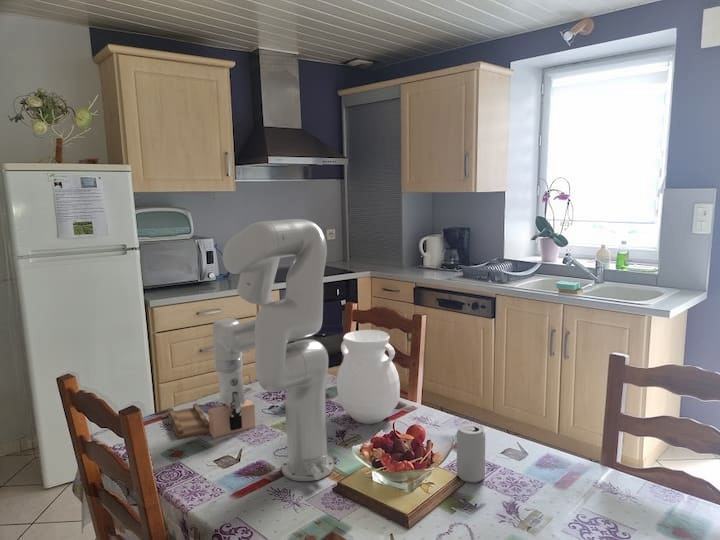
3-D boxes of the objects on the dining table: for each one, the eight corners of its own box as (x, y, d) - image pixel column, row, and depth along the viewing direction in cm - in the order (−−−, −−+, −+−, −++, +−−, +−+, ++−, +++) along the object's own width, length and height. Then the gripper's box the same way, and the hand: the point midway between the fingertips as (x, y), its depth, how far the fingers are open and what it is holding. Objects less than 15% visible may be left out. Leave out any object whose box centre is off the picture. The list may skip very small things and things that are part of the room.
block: (255, 427, 153) (254, 404, 152) (214, 438, 147) (212, 414, 146) (250, 422, 156) (249, 399, 155) (209, 433, 150) (208, 409, 149)
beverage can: (483, 486, 120) (483, 435, 118) (454, 481, 122) (454, 432, 120) (486, 472, 126) (487, 424, 124) (459, 468, 128) (459, 420, 126)
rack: (211, 431, 151) (211, 424, 151) (178, 439, 147) (177, 431, 146) (198, 409, 167) (197, 402, 166) (167, 415, 162) (167, 408, 162)
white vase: (324, 422, 155) (321, 338, 152) (359, 401, 170) (358, 324, 167) (379, 437, 145) (377, 347, 141) (411, 413, 160) (411, 331, 156)
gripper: (251, 369, 143) (254, 432, 146) (233, 353, 158) (237, 410, 161) (223, 374, 140) (227, 439, 142) (208, 357, 155) (211, 415, 157)
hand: (232, 423), depth 151 cm, fingers open, 7 cm apart
